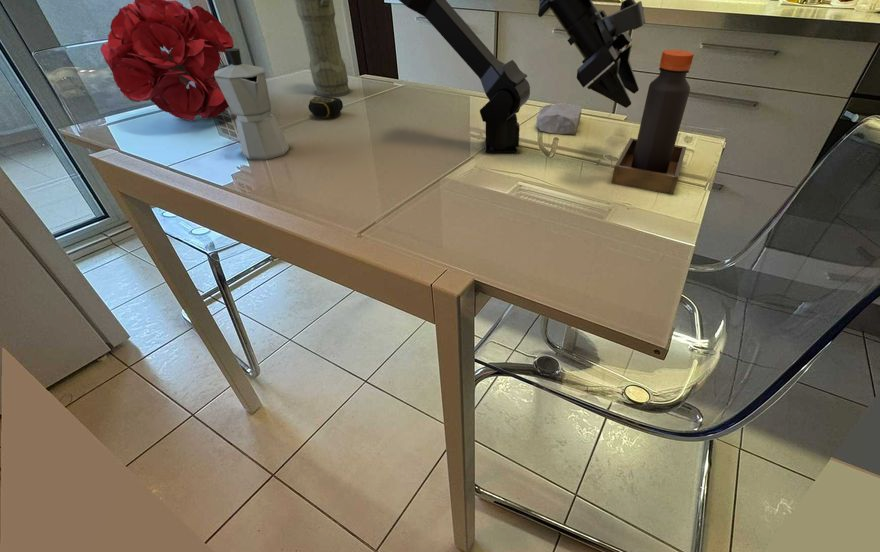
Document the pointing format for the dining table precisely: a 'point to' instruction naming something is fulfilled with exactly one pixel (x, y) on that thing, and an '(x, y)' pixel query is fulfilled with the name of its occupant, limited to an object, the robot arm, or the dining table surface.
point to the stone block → (559, 118)
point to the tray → (644, 177)
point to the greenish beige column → (323, 47)
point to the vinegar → (663, 112)
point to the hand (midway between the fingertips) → (632, 98)
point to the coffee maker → (251, 108)
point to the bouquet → (168, 57)
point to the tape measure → (325, 106)
